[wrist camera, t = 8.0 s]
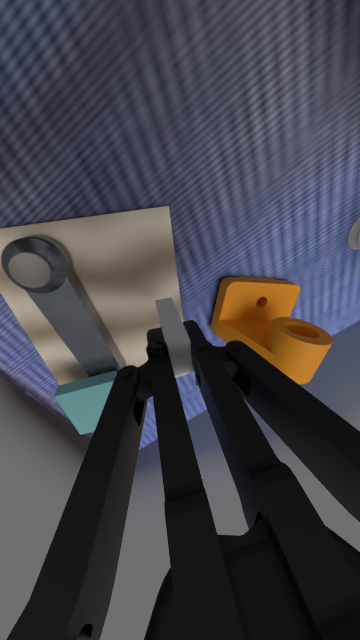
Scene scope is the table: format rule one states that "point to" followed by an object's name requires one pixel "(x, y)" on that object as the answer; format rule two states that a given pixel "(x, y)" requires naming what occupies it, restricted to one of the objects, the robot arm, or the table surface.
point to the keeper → (85, 400)
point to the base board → (98, 280)
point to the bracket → (270, 324)
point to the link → (68, 306)
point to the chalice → (355, 236)
